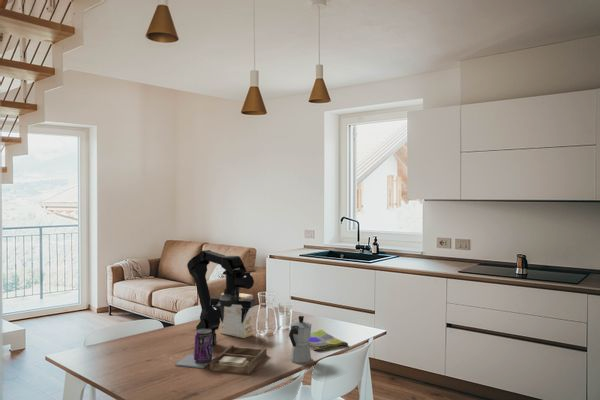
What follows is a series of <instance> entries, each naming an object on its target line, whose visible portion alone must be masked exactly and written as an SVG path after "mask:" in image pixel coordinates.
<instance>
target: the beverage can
mask: <svg viewBox="0 0 600 400" xmlns="http://www.w3.org/2000/svg"><path fill="white" fill-rule="evenodd" d="M212 345H213V334H212V330H210V329H198V330H197V329H196V331H195V334H194V349H193V350H194V351H193V352H194V354H193V355H194V360H195V361H197V362H201V363H204V362H208V361H210V360H211V359H212V356H213V346H214V345H213V346H212Z"/></svg>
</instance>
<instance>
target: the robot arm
mask: <svg viewBox="0 0 600 400" xmlns="http://www.w3.org/2000/svg"><path fill="white" fill-rule="evenodd" d="M210 262H211V263H214V264H217V265H220V266H221V268H222V269H224V271H223V272H222V275H225V288H224V290H223V291H224V292H223V293H224V294H223V295H222V296H221V295H220V296H218V295H217V296H213V297H212V298H211V295H210V289H209V286H208V282H207V281H208V280H207V278H206V276H207V272H208V266H209V264H210ZM186 266H187V270H188V273H189V275H190V276H191V277H192V278H193V279H194V282H195V287H196V291H197V296H198V299H199V303H200V307H201V312H200V316H199V320H200V321H199V322H198V324H197V325H196V326H195V327H196V328H195V329H196V330H198V329H210V330H212V334H213V345H212V347H213V346H214V345H215V344H217V343H218V341H217V333H216V330H217V331H218V330H219V327H220V325H221V321H222V322H223V320H224V306H226V307H231V306H232V304H234V305H242V307H243V308H241V311H242V316H241V323H243V322H244V320H245V317H246V315H247V312H248V310H249V309H250V308H252V307H253V308H254V307H255V306H256V300H255V299H254V298H253V299H245V300H243V301H241V300H240V297H239V293H240V290H241V289H245V290H250V289H252V287H253V286H254V283H255V279H254V277H253V276H252V275H251V272H249V271H247V268H246V266H245V265H244V261H243V260H242V258H241V256H239V255H225V254H221V253H218V252H215V251H212V250H210V249H205V250H201V251H200V252H199V253H197V254H196V255H195V256H193V257H192V258H191V259H190V260H189V261H188V262H187V265H186ZM236 302H237V303H236Z"/></svg>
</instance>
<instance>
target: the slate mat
mask: <svg viewBox="0 0 600 400" xmlns="http://www.w3.org/2000/svg"><path fill="white" fill-rule="evenodd" d="M216 357H217V356H213V355H212V359H211V360H210V361H208V362H204V363H201V362H197V361H195V360H194V354H193V353H192V354H190V353H189V354H187V355H185V357H183V358H181V359H180V360H179V361H177V362H176V363H174V366H175V367H185V368H194V369H195V368H196V369H204V368H206V367H208V365H210V362H211V361H212V360H213V359H214V358H216Z"/></svg>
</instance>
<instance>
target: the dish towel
mask: <svg viewBox="0 0 600 400" xmlns="http://www.w3.org/2000/svg"><path fill="white" fill-rule="evenodd" d="M308 343H309V347H310V350H311V351H314V352H315V351H316V352H318V351H324V350H332V349H340V348H347V347H349V343H348V342H346V341H343V340H341V339H338V338H336V337H334V336H333V335H331V334H329V333H328V332H326V331H325V330H323V329H319V330H316V331H314V332H313V331H312V332H310V340H309V342H308Z"/></svg>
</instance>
